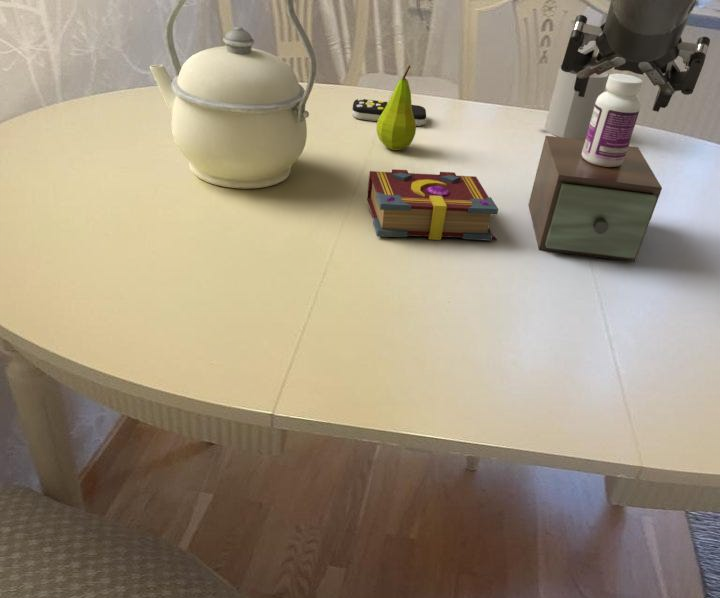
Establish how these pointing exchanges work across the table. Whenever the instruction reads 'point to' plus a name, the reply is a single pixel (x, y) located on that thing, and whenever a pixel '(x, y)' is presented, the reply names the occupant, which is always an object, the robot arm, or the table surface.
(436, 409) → the table surface
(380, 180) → the decorative book
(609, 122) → the pill bottle
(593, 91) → the cup
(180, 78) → the kettle
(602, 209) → the drawer
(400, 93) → the fruit
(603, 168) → the cabinet
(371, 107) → the remote control
